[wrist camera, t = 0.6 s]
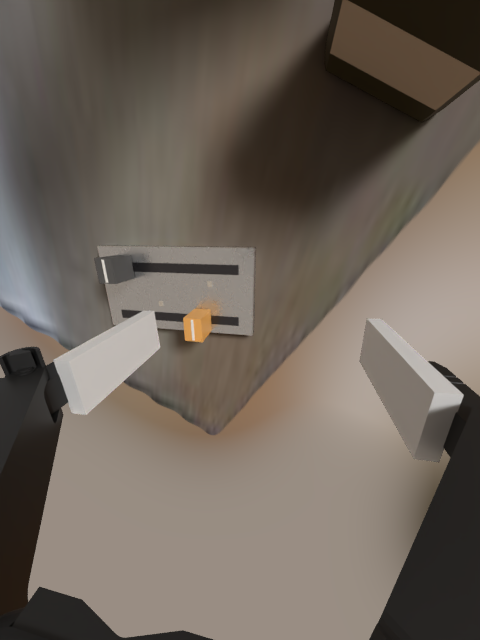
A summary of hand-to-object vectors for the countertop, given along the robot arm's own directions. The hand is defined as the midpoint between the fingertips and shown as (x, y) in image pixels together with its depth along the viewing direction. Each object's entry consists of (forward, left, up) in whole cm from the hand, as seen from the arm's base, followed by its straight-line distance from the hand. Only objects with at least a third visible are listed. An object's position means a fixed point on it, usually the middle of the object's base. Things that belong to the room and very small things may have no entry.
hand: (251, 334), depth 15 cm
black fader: (0, -26, -24) cm, 36 cm away
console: (+4, -17, -27) cm, 32 cm away
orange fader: (+9, -12, -24) cm, 29 cm away
